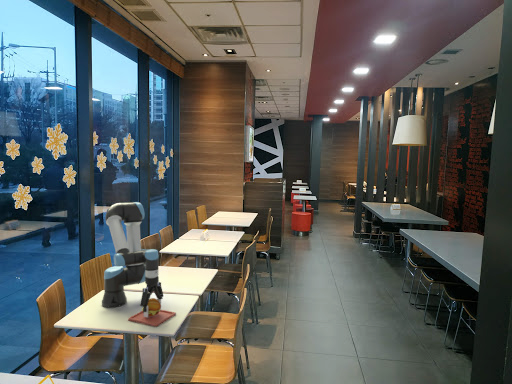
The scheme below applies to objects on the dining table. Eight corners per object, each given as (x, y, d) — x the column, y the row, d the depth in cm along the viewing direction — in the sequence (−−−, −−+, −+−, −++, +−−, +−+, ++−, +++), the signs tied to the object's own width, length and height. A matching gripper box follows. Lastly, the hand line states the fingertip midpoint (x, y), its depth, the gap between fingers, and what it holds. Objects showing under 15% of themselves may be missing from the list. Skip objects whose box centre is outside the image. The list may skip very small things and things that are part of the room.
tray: (128, 320, 211) (128, 318, 211) (149, 309, 228) (148, 307, 228) (156, 326, 204) (156, 324, 203) (175, 314, 220) (175, 312, 220)
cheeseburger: (152, 308, 224) (155, 293, 221) (163, 317, 217) (166, 302, 215) (138, 313, 216) (140, 298, 214) (148, 322, 209) (151, 306, 207)
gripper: (143, 282, 202) (144, 322, 204) (169, 271, 223) (169, 307, 225) (133, 281, 205) (133, 319, 207) (159, 270, 226) (159, 305, 228)
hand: (152, 313), depth 216 cm, fingers closed on cheeseburger, 10 cm apart
